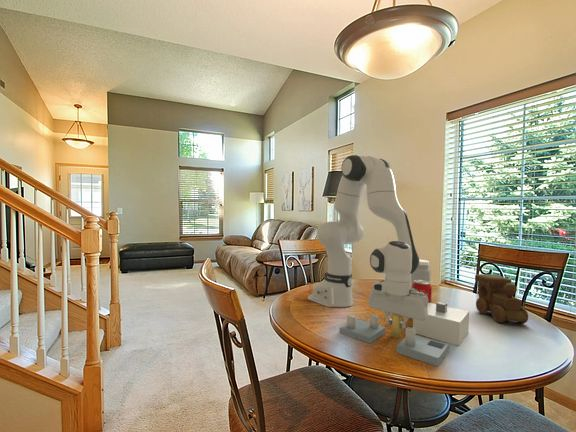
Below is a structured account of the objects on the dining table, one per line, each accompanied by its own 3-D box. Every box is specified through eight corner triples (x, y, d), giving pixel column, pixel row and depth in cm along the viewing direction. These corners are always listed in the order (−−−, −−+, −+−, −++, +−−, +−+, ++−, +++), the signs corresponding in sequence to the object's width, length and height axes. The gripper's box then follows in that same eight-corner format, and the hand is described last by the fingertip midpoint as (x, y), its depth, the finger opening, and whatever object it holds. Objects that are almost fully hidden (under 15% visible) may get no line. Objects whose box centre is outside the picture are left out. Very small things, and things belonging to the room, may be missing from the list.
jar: (433, 296, 157) (434, 262, 157) (414, 295, 157) (415, 261, 157) (424, 291, 167) (426, 259, 167) (407, 290, 167) (408, 258, 167)
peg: (390, 336, 106) (390, 313, 106) (393, 333, 108) (394, 311, 108) (398, 338, 104) (399, 316, 104) (401, 336, 106) (402, 313, 106)
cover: (412, 332, 110) (413, 303, 109) (425, 321, 121) (426, 294, 121) (459, 346, 100) (460, 313, 99) (468, 332, 111) (469, 303, 111)
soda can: (407, 316, 126) (409, 281, 126) (414, 312, 132) (415, 278, 132) (427, 321, 121) (428, 285, 121) (433, 316, 127) (434, 281, 126)
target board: (396, 352, 94) (397, 329, 94) (410, 340, 103) (411, 319, 103) (437, 366, 86) (438, 341, 86) (448, 352, 95) (449, 328, 95)
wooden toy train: (471, 309, 138) (473, 273, 137) (496, 310, 138) (497, 274, 137) (503, 326, 118) (504, 285, 117) (531, 327, 118) (533, 285, 117)
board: (339, 332, 108) (339, 316, 108) (355, 323, 117) (356, 308, 117) (370, 343, 100) (370, 325, 100) (385, 332, 109) (385, 316, 109)
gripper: (431, 291, 101) (430, 331, 102) (374, 281, 115) (373, 316, 115) (425, 295, 97) (424, 337, 97) (367, 283, 110) (366, 320, 110)
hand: (396, 326), depth 106 cm, fingers closed on peg, 3 cm apart
